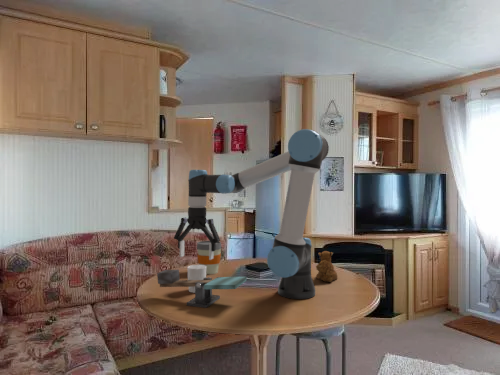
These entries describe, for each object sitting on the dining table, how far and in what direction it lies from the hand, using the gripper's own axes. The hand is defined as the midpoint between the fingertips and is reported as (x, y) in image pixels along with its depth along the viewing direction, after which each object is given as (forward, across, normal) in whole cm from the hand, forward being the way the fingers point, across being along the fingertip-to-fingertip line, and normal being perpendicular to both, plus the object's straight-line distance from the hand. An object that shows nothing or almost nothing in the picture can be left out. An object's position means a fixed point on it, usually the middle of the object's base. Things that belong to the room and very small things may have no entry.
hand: (196, 257), depth 149 cm
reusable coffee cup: (+14, +8, -31) cm, 35 cm away
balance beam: (+7, -8, +12) cm, 16 cm away
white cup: (+14, 0, 0) cm, 14 cm away
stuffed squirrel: (+13, -50, -36) cm, 63 cm away
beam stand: (+14, -10, +12) cm, 20 cm away
